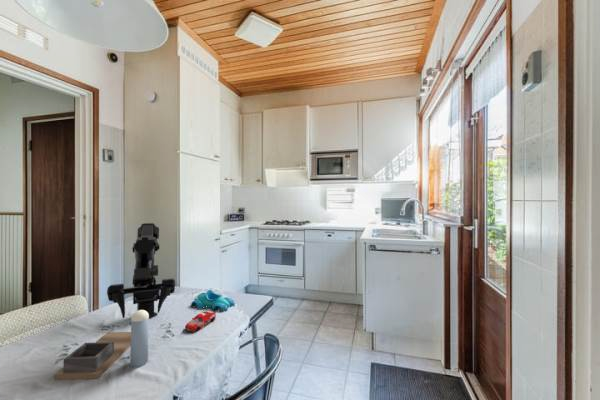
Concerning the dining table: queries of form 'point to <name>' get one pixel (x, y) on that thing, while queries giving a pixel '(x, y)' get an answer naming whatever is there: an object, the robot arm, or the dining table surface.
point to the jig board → (94, 357)
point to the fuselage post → (139, 338)
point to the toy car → (212, 301)
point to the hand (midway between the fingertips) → (141, 314)
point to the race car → (200, 321)
